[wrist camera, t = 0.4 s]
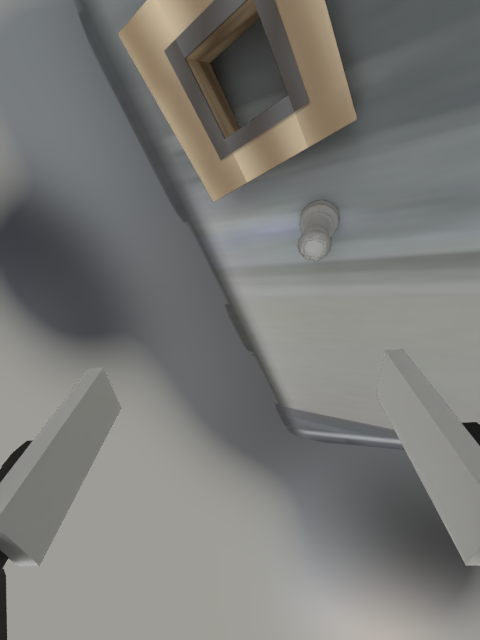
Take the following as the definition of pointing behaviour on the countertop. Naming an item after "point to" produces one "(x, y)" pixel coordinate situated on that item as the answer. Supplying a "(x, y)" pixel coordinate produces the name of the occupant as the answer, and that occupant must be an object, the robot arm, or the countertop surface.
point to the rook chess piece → (317, 229)
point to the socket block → (208, 97)
